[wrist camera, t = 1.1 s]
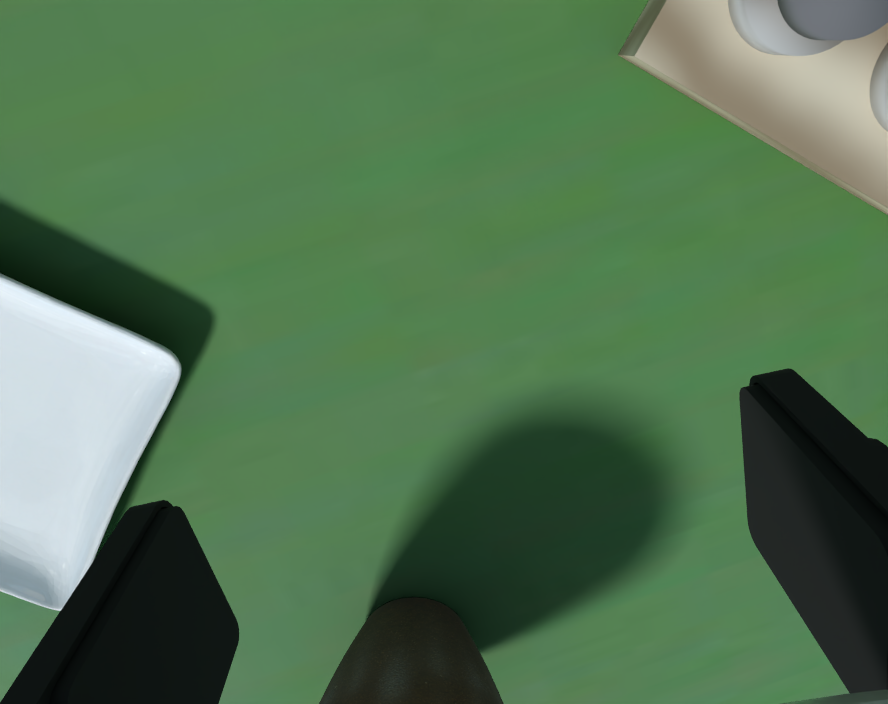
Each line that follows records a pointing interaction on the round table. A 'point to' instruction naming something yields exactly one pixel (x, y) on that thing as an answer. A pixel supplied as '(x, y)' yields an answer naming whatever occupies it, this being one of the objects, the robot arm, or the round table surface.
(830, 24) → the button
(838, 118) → the button board
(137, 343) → the salad plate
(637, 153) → the round table surface
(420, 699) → the plant pot
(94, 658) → the robot arm
